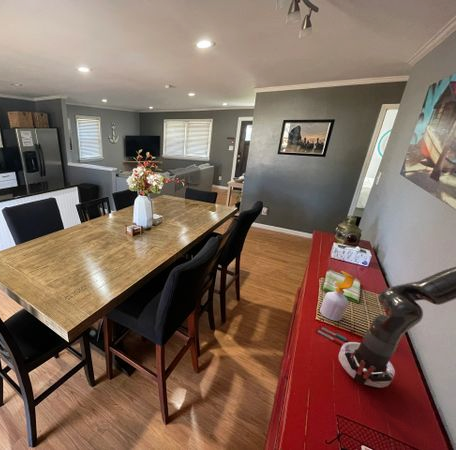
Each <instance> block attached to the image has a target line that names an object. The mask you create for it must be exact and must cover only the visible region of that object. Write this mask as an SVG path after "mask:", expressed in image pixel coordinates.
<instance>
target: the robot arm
mask: <svg viewBox="0 0 456 450" xmlns="http://www.w3.org/2000/svg"><path fill="white" fill-rule="evenodd" d="M454 300H456V266H453V267H450V268H446V269H444V270H441V271H439V272H436V273H434V274H432V275H429V276H427V277H425V278H422V279H420V280H417V281H412V282H407V283H402V284H397V285H394V286H393V285H392V286H389V287H387V288H385V289H384V290H381V292H380V293H379V294H378V302H379V304H380V305H381V306H382V307H383V308H384V309H385V310H386V311H387V313H388V314H389V315H386V314H378V315H376V316H374V319H373V320H372V321H371V322H372V323H370V326H369V328H368V330H367V331H366V332H365V334H364V336H362V340H361V342H360V343H361V344H360V346H359V348H358V349H356V350H355V351H350V350H346V352H345V356H346V358H347V360H348V362H349V364H350V367H351V369H352V370H355V371H356V375H355V377H354V378H353V380H355V383H356V384H358V385H359V386H361V385H365V382H366V380H367V379H370V380H371V381H373V382H380V381H391V382H392V381H393V379H392V377H393V374H392V373H389V372H388V371H387V364H388V362H389V361H391V359H392V357H393V356H394V355H395V352H396V350H397V348H398V344H399V343H400V341H401V340H402V337H403V336H404V334H406V333H407V332H409V331H410V330H411V329H412V328H414V327H415V326H417V325H418V324H419V323H420V322H421V321H422V320H423V317H424V309H423V307H422V306H421V305H420V304H419V303H418V302H416V301H426V302H429V303H430V304H433V305H436V306H440V305H444V304H446V303H449V302H452V301H454ZM354 356H355V358H356V360H357V362H358V364H359V367H358V366H357V363H356V361H355V359H354ZM364 368H365V369H366V370H365V372H364V373H363V369H364ZM377 372H382V373H377ZM372 373H376V374H372Z"/></svg>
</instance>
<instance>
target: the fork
mask: <svg viewBox="0 0 456 450" xmlns="http://www.w3.org/2000/svg"><path fill="white" fill-rule="evenodd" d="M320 330H321V331H323V332H325V333H327V334H330V335H331V336H334V337H336V338H338V339H339V340H341V341H343V342H345V343H347V341H348V338H347V337H345V336H344V335H341V334H339V333H338V332H336V333H334V332H333V331H331V330H330V329H327V328H325V327H323V326H322V327H321V329H320Z"/></svg>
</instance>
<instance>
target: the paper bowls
mask: <svg viewBox="0 0 456 450" xmlns="http://www.w3.org/2000/svg"><path fill="white" fill-rule="evenodd" d="M360 344H361V342H356V341H348V342H347V341H346V342H345V344H343V346H342V345H341V348H340V350H339V353H338V360H339V363H340V365H341V366H342V368H343V370H345V371H346V373H347V374H348V375H349V376H351V378H353V379H354V377H355V375H356V371H355V370H352V369H351V367H350V364H349V362H348V360H347V358H346V356H345V352H346V350H350V351H355V350H356V349H358V348H359V346H360ZM354 359H355V361H356V363H357V366H358V367H359V364H358V362H357V360H356V358H355V356H354ZM365 370H366V369H365V368H364V369H363V373H364V372H365ZM387 371H388V372H389V373H392V374H393V377H392V380H393V379H394V377H395V375H396V370H395V368H394V366H393V364H392V363H391V360H389V362H388V364H387ZM377 373H382V372H377ZM372 374H376V373H372ZM391 382H392V381H380V382H373V381H371V380H370V379H367V380H366V382H365V384H364V385H366V386H370V387H374V388H379V389H381V388H382V389H383V388H386V387H389V385H390V384H391Z"/></svg>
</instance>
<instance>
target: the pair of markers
mask: <svg viewBox="0 0 456 450" xmlns="http://www.w3.org/2000/svg"><path fill="white" fill-rule="evenodd" d="M317 333H318V334H319V335H321V336H323V337H325V338H326V339H329V340H331V341H333V342H334V343H336V344H339V346H341V347H342V346H343V344H345V343H346V342H345V341H343V340H341V339H339V338H337V337H335V336H334V337H333V336H332V335H329V334H328V333H326V332H324V331H322V330H321V329H318V330H317Z"/></svg>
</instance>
